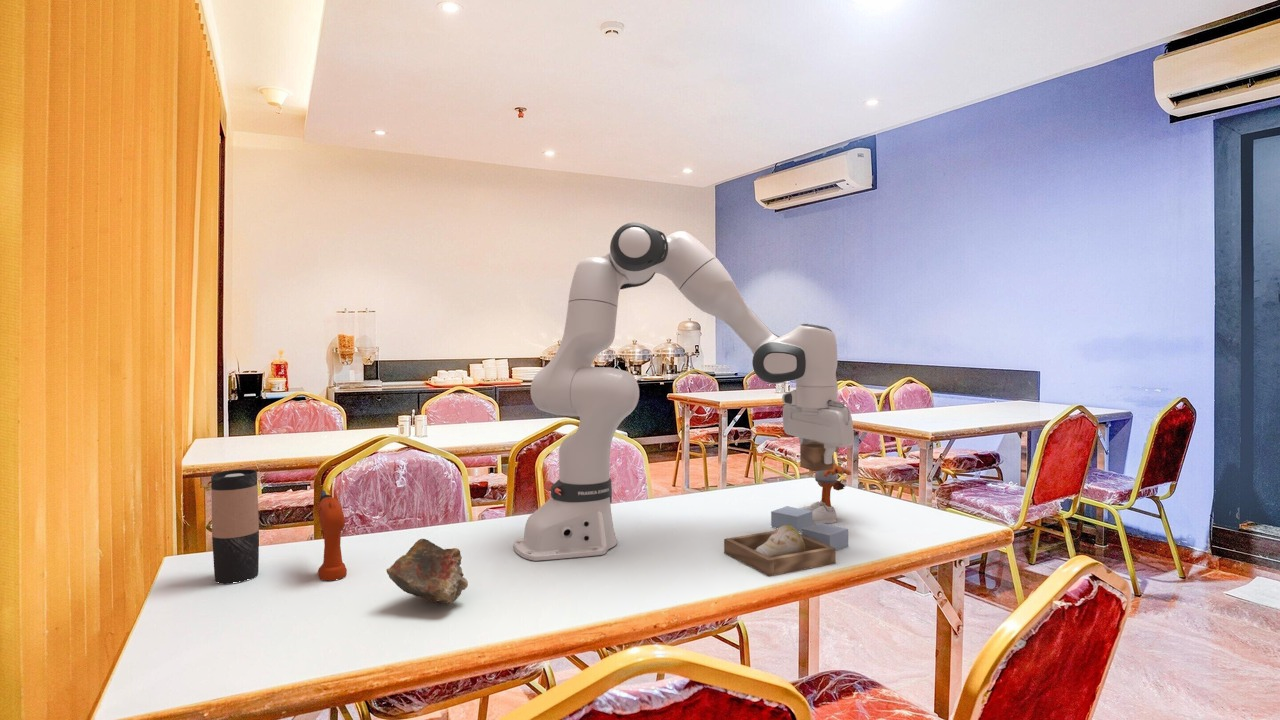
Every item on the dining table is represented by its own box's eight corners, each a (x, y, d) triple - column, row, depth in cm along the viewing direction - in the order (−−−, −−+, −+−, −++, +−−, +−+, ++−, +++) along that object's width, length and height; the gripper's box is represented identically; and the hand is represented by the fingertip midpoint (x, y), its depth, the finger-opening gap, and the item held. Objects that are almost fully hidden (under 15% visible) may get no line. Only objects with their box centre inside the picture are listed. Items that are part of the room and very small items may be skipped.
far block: (796, 533, 156) (797, 516, 155) (771, 528, 160) (771, 511, 160) (812, 527, 161) (812, 511, 160) (786, 522, 165) (787, 506, 165)
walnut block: (833, 469, 146) (833, 446, 146) (814, 471, 144) (814, 448, 144) (818, 464, 151) (818, 442, 151) (800, 466, 149) (800, 444, 149)
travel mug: (263, 568, 133) (260, 468, 132) (256, 581, 126) (253, 475, 125) (218, 573, 130) (215, 471, 129) (208, 587, 123) (206, 478, 122)
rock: (442, 585, 123) (441, 531, 123) (488, 600, 116) (487, 543, 116) (382, 607, 113) (381, 549, 113) (429, 625, 106) (428, 563, 106)
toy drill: (335, 544, 143) (335, 476, 141) (349, 582, 127) (349, 507, 125) (310, 548, 141) (309, 479, 139) (321, 587, 125) (320, 510, 123)
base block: (829, 554, 141) (829, 535, 141) (801, 546, 146) (801, 528, 146) (848, 547, 145) (848, 529, 145) (820, 540, 151) (820, 522, 150)
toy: (788, 504, 182) (788, 393, 181) (830, 504, 182) (830, 393, 181) (812, 536, 152) (812, 404, 151) (862, 537, 152) (863, 404, 151)
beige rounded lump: (744, 563, 136) (757, 515, 139) (783, 579, 138) (795, 532, 142) (764, 565, 129) (777, 515, 132) (805, 582, 131) (817, 533, 135)
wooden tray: (768, 576, 127) (768, 560, 127) (724, 552, 141) (724, 538, 141) (835, 563, 134) (835, 548, 134) (786, 542, 148) (786, 528, 148)
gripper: (861, 402, 138) (861, 468, 139) (800, 393, 157) (800, 451, 158) (836, 404, 136) (837, 471, 137) (777, 394, 155) (778, 454, 156)
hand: (817, 460), depth 148 cm, fingers closed on walnut block, 5 cm apart
